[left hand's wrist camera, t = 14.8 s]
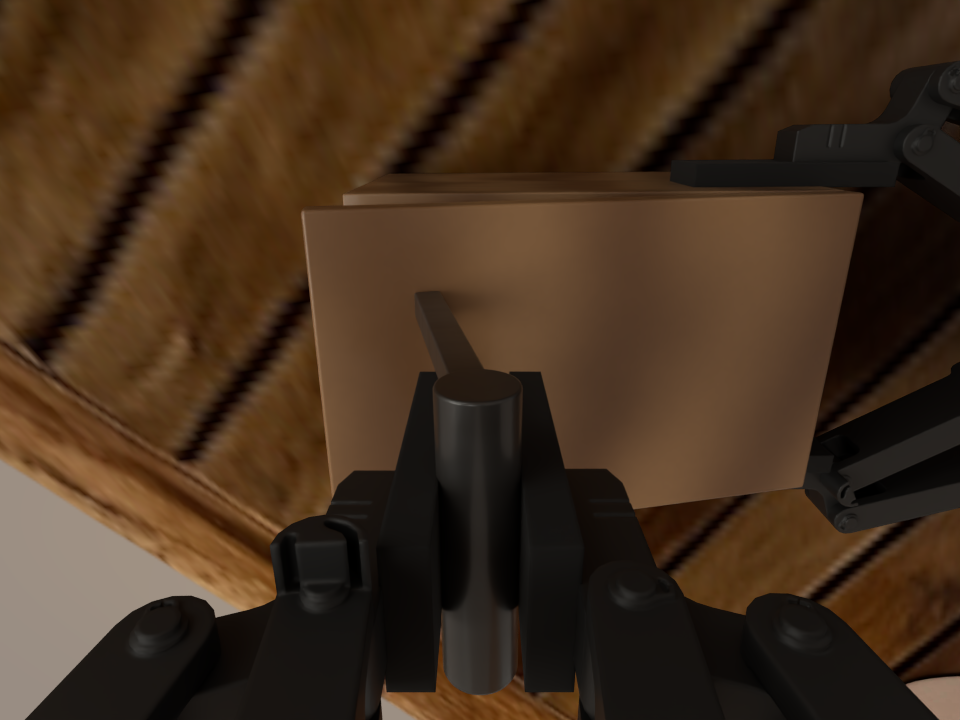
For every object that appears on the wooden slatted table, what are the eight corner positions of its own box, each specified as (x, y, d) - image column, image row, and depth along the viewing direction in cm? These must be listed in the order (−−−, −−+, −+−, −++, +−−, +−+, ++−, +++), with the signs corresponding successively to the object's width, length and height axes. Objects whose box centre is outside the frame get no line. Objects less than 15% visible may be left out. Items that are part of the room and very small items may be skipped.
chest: (399, 376, 31) (366, 476, 22) (387, 173, 27) (342, 193, 18) (700, 375, 31) (789, 474, 22) (727, 170, 27) (846, 190, 18)
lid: (338, 532, 19) (330, 805, 11) (302, 206, 15) (256, 279, 8) (787, 475, 22) (1025, 660, 14) (844, 190, 18) (1202, 231, 11)
